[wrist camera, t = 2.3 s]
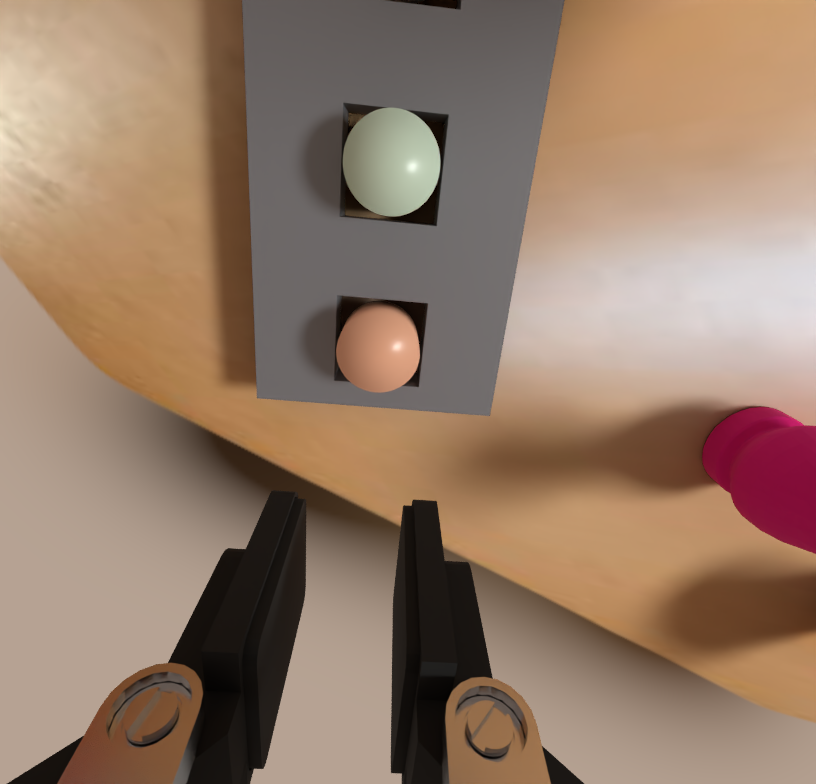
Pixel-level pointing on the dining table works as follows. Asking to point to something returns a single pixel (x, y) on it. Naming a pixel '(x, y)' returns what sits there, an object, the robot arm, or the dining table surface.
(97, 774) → the robot arm
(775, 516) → the pepper mill
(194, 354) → the dining table surface
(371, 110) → the button panel
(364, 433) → the dining table surface
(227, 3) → the dining table surface
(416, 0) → the cream button
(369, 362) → the terracotta button
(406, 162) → the sage button
